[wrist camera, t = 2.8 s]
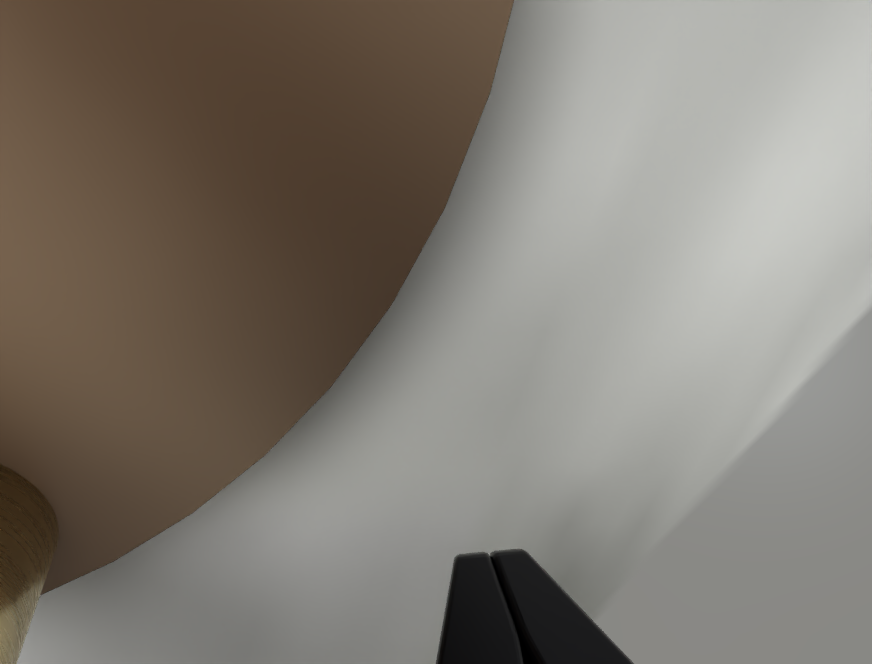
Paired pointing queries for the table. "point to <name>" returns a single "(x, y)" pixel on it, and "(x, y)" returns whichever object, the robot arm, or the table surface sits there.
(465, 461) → the table surface
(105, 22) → the dial
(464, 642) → the robot arm
